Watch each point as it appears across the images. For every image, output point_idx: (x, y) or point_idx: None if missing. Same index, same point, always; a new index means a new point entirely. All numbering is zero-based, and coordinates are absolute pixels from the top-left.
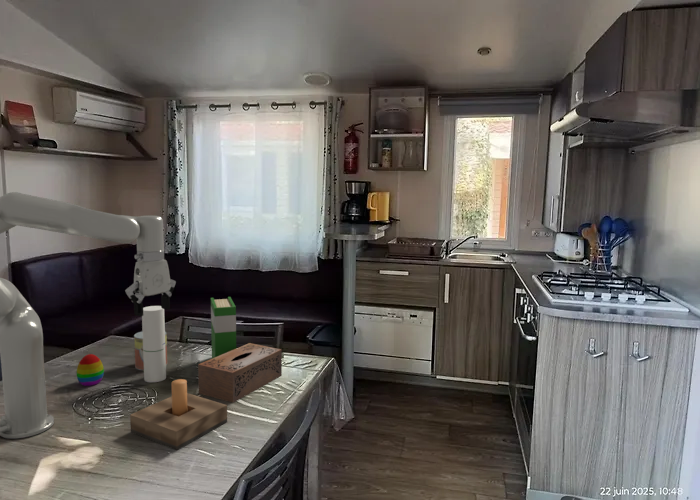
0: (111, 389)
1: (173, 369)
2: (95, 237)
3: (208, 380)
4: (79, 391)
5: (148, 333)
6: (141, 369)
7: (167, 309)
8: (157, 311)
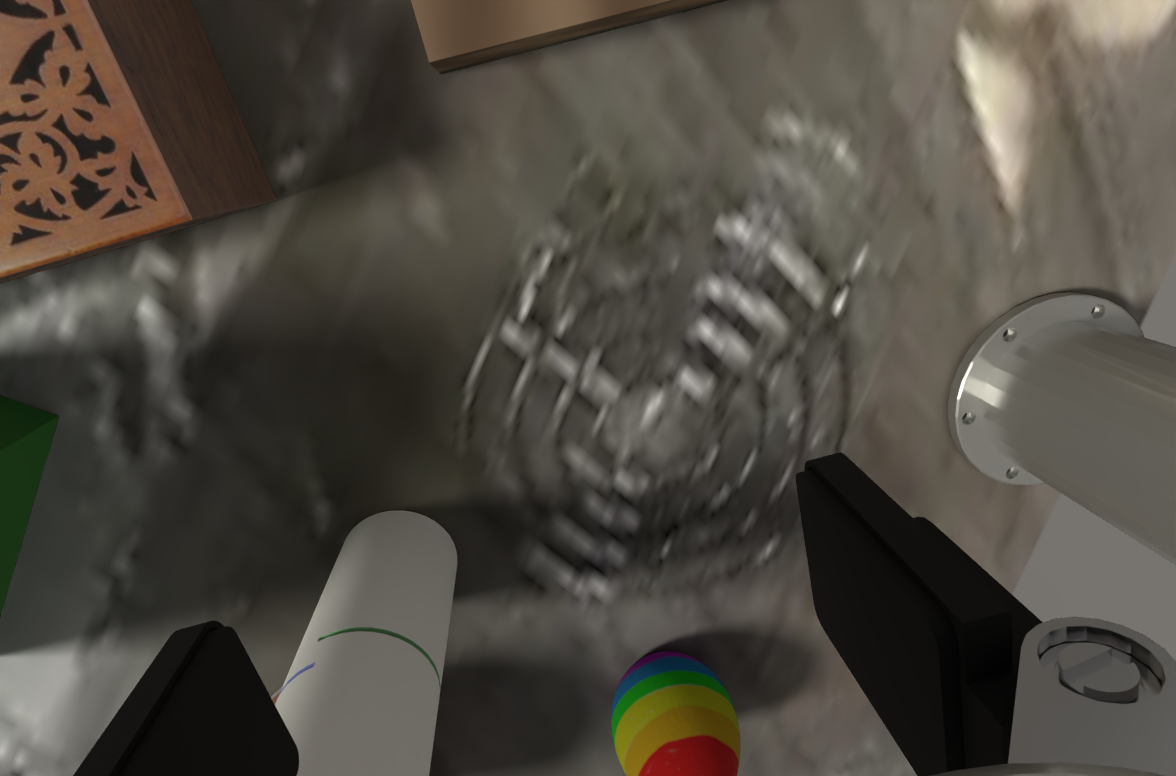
0: (626, 558)
1: (267, 617)
2: None
3: (192, 106)
4: (737, 619)
5: (399, 764)
6: None
7: (229, 637)
8: None
